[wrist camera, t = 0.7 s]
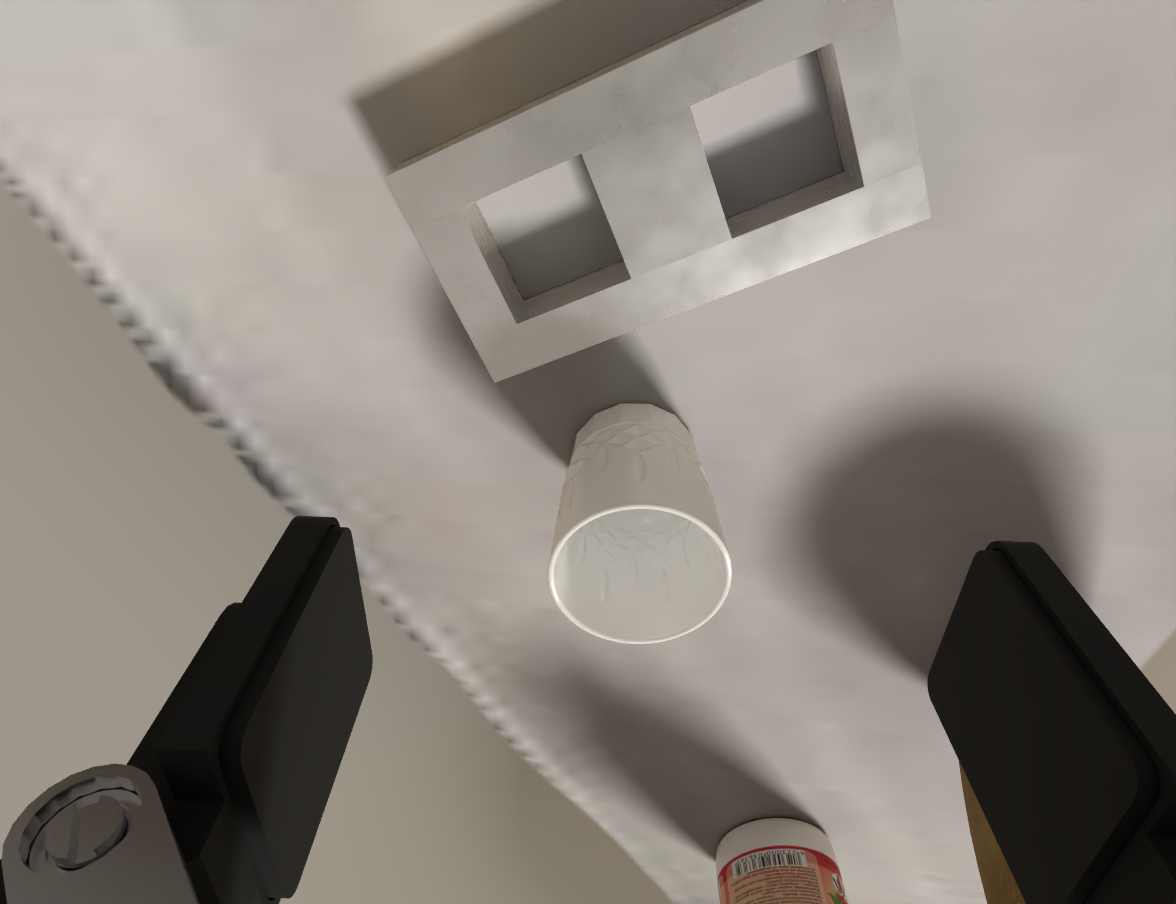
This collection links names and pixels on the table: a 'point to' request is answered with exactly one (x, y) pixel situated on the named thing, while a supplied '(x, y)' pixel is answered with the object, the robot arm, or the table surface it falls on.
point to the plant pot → (989, 853)
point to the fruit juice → (778, 865)
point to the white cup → (637, 530)
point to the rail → (670, 179)
